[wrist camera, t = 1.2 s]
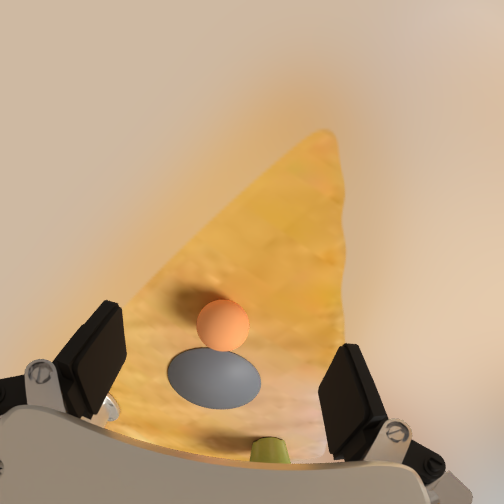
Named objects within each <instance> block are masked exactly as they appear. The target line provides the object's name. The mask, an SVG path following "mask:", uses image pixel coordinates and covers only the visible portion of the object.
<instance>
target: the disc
mask: <svg viewBox="0 0 504 504" xmlns="http://www.w3.org/2000/svg"><path fill="white" fill-rule="evenodd" d="M168 378H169V381H170V384H171V385H172V387H173V388H174V390H175V391H176V392H177V393H178V394H179V395H180V396H182V397H183V398H184V399H186V400H188V401H190V402H191V403H194V404H196V405H199V406H202V407H206V408H211V409H232V408H236V407H240V406H243V405H245V404H247V403H249V402H250V401H252V400H253V399H254V398H255V397H256V396H257V394H258V392H259V390H260V387H261V379H260V375H259V373H258V371H257V370H256V368H255V367H254V366H253V365H252V364H251V363H250V362H249V361H247V360H246V359H244V358H243V357H241V356H239V355H237V354H235V353H232V352H230V351H224V352H222V351H216V350H213V349H211V348H196V349H191V350H188V351H185V352H183V353H181V354H179V355H178V356H176V357H175V358H174V359H173V360H172V362H171V363H170V366H169V369H168Z"/></svg>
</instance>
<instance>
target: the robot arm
mask: <svg viewBox="0 0 504 504" xmlns="http://www.w3.org/2000/svg"><path fill="white" fill-rule="evenodd" d="M126 356H127V352H126V344H125V336H124V326H123V316H122V309H121V308H120V307H119V305H118V303H115V302H111V301H108V300H105V301H104V302H103V303H102V304H101V305H100V306H99V307H98V309H97V310H96V311H95V312H94V313H93V314H92V316H91V317H90V318H89V319H88V320H87V322H86V323H85V324H83V325H82V326H81V327H80V328H79V329H78V330H77V332H76V333H75V334H74V335H73V336H72V338H71V339H70V340H69V341H68V343H67V344H66V345H65V347H64V348H63V349H62V350H61V352H60V353H59V354H58V355H57V357H56V358H55V359H54V361H53V362H50V361H48V360H45V359H38V360H34V361H32V362H31V363H29V364H28V366H27V367H26V369H25V374H24V375H20V376H15V377H10V378H4V379H0V504H471V503H472V498H473V496H472V493H471V491H470V490H469V489H468V488H467V487H466V486H465V485H464V484H463V483H462V482H461V481H460V480H459V479H457V478H456V477H455V476H454V475H453V474H452V473H451V472H450V471H448V472H446V471H445V468H446V467H445V462H444V460H443V458H442V457H441V456H440V455H439V454H437V453H435V452H433V451H431V450H430V449H428V448H426V447H424V446H422V445H420V444H419V443H417V442H415V441H413V440H412V431H411V428H410V427H409V425H408V424H407V423H406V422H404V421H403V420H400V419H388V417H387V414H386V411H385V409H384V406H383V403H382V401H381V398H380V396H379V393H378V391H377V388H376V386H375V383H374V381H373V378H372V376H371V374H370V372H369V369H368V367H367V365H366V362H365V360H364V358H363V355H362V353H361V351H360V348H359V346H358V345H357V344H347V343H345V344H344V345H343V346H340V347H339V348H338V350H337V352H336V355H335V357H334V359H333V361H332V363H331V365H330V367H329V369H328V371H327V372H326V374H325V376H324V378H323V380H322V382H321V384H320V386H319V389H318V395H319V400H320V405H321V410H322V415H323V420H324V425H325V431H326V436H327V442H328V447H329V452H330V454H333V457H334V460H340V459H344V460H345V462H337V463H313V464H281V463H261V462H248V461H238V460H230V459H222V458H215V457H209V456H203V455H198V454H192V453H187V452H183V451H178V450H174V449H170V448H166V447H162V446H158V445H154V444H150V443H147V442H144V441H140V440H137V439H134V438H131V437H128V436H125V435H122V434H119V433H116V432H113V431H110V430H107V429H105V428H104V427H105V425H106V423H107V421H114V420H116V419H117V418H118V416H119V414H120V409H119V406H118V404H117V402H116V401H115V400H114V398H113V397H112V396H111V395H110V394H109V393H108V392H109V390H110V388H111V386H112V384H113V382H114V381H115V379H116V377H117V375H118V373H119V371H120V369H121V367H122V365H123V364H124V362H125V360H126Z"/></svg>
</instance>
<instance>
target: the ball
mask: <svg viewBox="0 0 504 504" xmlns="http://www.w3.org/2000/svg"><path fill="white" fill-rule="evenodd" d="M197 332H198V335H199V337H200V339H201V340H202V342H203V343H204V344H205V345H206V346H208V347H209V348H211V349H213V350H216V351H222V352H224V351H231V350H234V349H236V348H237V347H239V346H240V345H241V344H242V343H243V342H244V341H245V339H246V338H247V335H248V332H249V319H248V316H247V314H246V312H245V311H244V309H243V308H242V307H241V306H239V305H238V304H237V303H235V302H233V301H230V300H223V299H222V300H215V301H213V302H210V303H209V304H207V305H206V306H205V307H204V308H203V309H202V310H201V311H200V313H199V315H198V318H197Z"/></svg>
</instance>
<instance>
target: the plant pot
mask: <svg viewBox="0 0 504 504" xmlns="http://www.w3.org/2000/svg"><path fill="white" fill-rule="evenodd" d="M250 462H261V463H281V464H291V462H290V459H289V455H288V452H287V448H286V444H285V442H284V440H280V439H278V438H275V437H268V438H261V439H259V440H258V441H256V442H253V444H252V450H251V456H250Z"/></svg>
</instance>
